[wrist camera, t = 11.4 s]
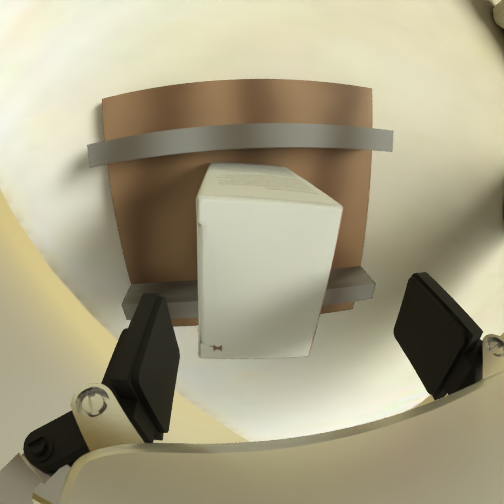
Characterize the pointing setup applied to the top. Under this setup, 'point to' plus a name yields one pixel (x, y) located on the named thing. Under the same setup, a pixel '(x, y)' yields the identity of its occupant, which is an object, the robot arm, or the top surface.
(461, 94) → the top surface
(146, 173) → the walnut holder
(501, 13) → the ceramic sculpture
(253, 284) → the small box
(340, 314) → the top surface
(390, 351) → the top surface
